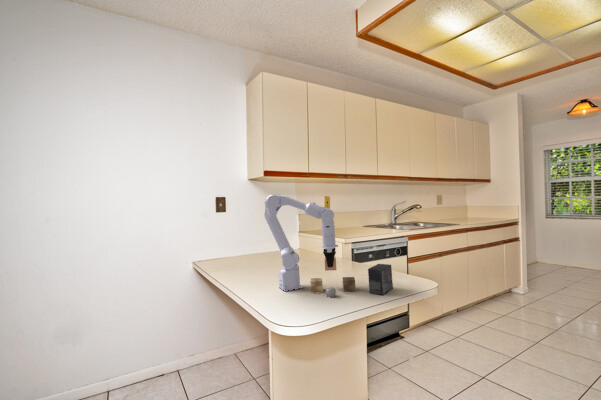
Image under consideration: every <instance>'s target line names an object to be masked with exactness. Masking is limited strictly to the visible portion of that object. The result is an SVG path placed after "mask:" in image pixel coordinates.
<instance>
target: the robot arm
mask: <svg viewBox="0 0 601 400" xmlns="http://www.w3.org/2000/svg"><path fill="white" fill-rule="evenodd" d="M284 206H290V207H293V208H296V209H299V210H302V211H304V213H305V215H307V216H310V217H312V218H315V219H318V220H321V224H322V225H321V232H322V233H321V234H322V235H321V236H322V237H321V238H322V249H323V251H322V254H323V255H324V259H325V258H326V261H327V265H328V267H333V262H334V257H336V253H337V251H336V250H337V249H336V248H338V247H339V244H336V228H335V221H334V218H335V212H334V211H333V210H332V209H330V208H327V207H326V206H322V205H318V204H317V203H316V202H315V201H314V202H309V203H304V202H302V201H300V200H297V199H295V198H292V197H290V196H287V195H281V194H270V195H268V196H267V197H266V199H265V201H264V219H265V221H266V223H267V224H268V227H269V229H270V231H271V233H272V236H273V238H274V240H275V242H276V244H277V246H278V248H279V250H280V257H281V260H282V261H281V262H282V263H281V264H282V266H283V268H282V269H280V270H279V271H278V288H279V287H280V288H279V289H280V290H282V291H283V290H284V291H283V292H288V290H289V291H294V290H293V289H295V290H299V288H300V289H304V287H305V286H303V285H301V277H300V276H301V275H300V273H301V272H300V266H299V265H298V264H299V262H300V256H299V254H298V253H297V252H296V251H295V250H294V248H293V246H291V245H290V242H289V240H288V237H287V235H286V234H285V232H284V229H283V228H282V225H281V223H280V221H279V219H278V215H277V214H278V212H279V210H280V209H281V208H282V207H284Z"/></svg>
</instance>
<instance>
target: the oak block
mask: <svg viewBox="0 0 601 400" xmlns="http://www.w3.org/2000/svg"><path fill="white" fill-rule="evenodd" d="M311 292H324V289H323V277H315V278H314V277H313V278H312V277H311V278H310V293H311Z"/></svg>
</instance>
